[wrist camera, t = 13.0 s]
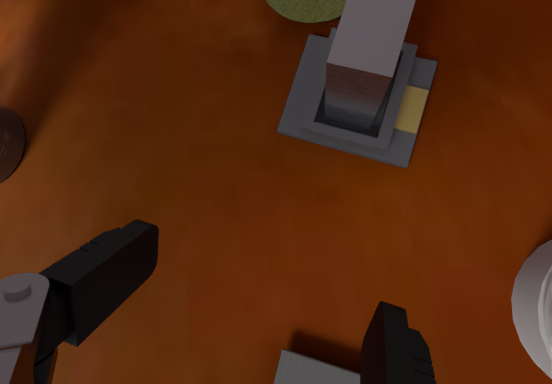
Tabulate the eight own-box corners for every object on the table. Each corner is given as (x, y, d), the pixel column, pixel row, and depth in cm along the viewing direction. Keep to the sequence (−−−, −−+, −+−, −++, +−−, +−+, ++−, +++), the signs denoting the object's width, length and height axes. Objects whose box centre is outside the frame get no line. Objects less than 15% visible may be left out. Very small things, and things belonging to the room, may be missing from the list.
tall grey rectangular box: (324, 121, 29) (326, 62, 20) (343, 62, 30) (354, -25, 20) (367, 133, 29) (392, 77, 19) (386, 72, 29) (419, -13, 19)
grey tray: (278, 133, 31) (273, 122, 28) (309, 39, 32) (308, 19, 29) (405, 168, 28) (414, 160, 26) (434, 66, 30) (446, 48, 27)
